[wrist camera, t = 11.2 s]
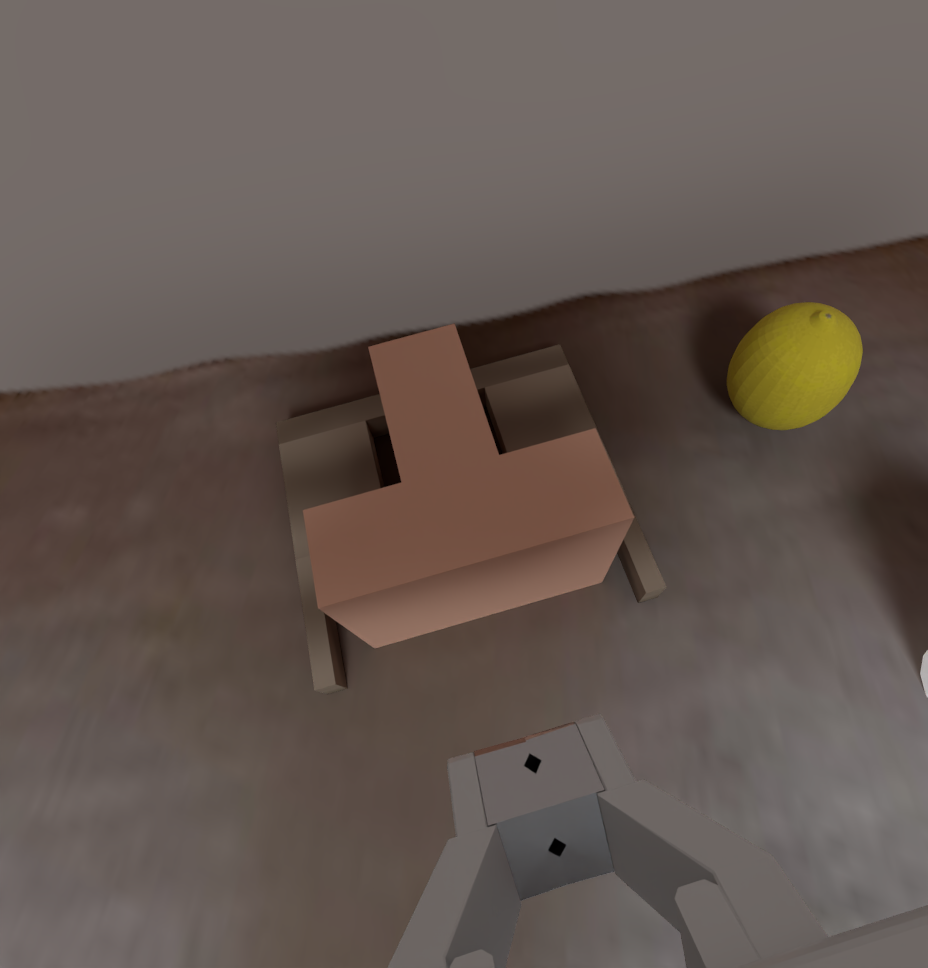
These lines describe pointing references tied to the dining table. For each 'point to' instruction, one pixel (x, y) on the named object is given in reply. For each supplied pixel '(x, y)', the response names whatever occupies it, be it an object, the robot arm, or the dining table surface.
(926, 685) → the beverage cup
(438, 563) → the t block
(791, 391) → the lemon
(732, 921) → the robot arm
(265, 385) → the dining table surface
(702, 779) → the dining table surface
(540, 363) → the t dock
